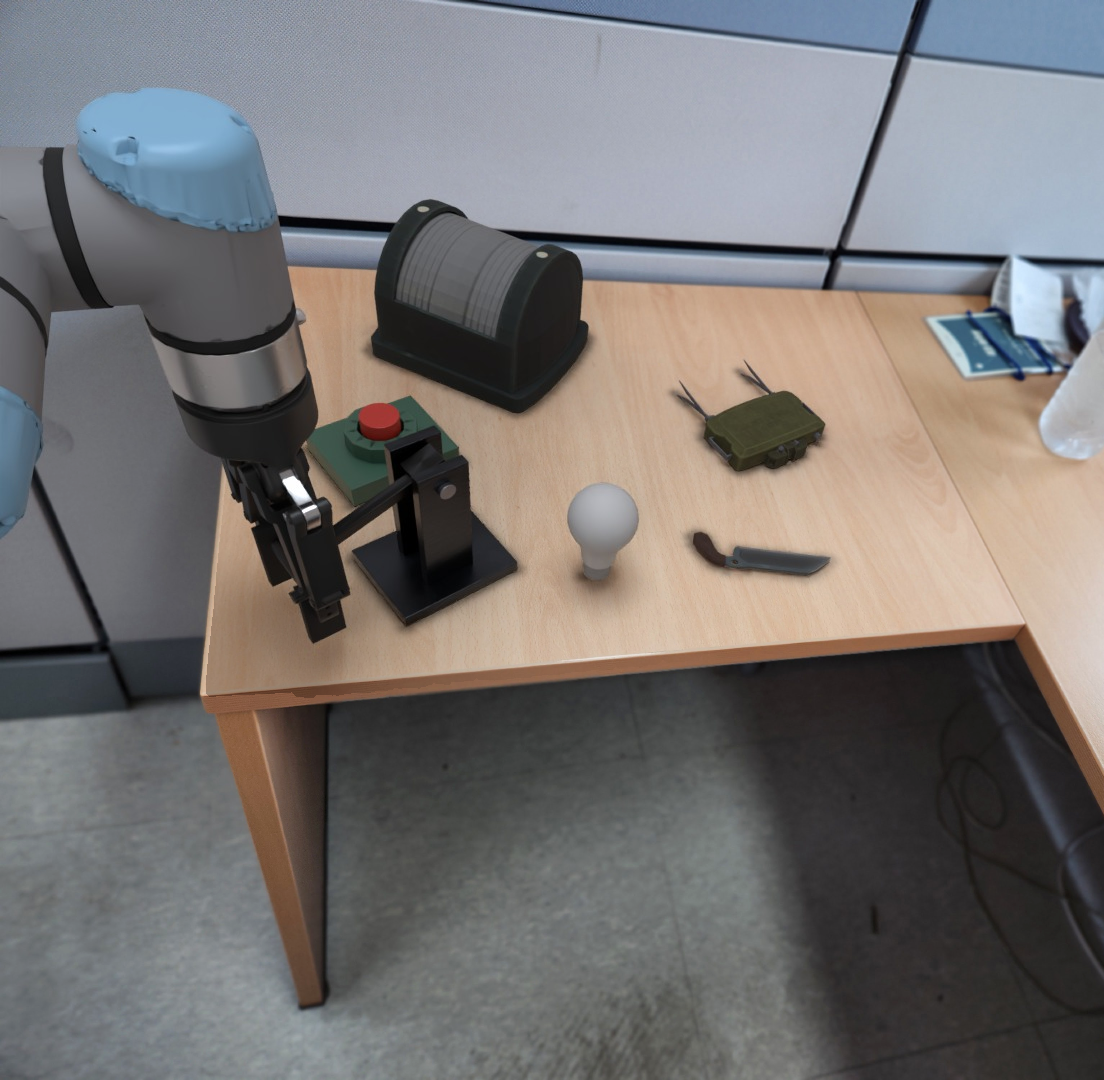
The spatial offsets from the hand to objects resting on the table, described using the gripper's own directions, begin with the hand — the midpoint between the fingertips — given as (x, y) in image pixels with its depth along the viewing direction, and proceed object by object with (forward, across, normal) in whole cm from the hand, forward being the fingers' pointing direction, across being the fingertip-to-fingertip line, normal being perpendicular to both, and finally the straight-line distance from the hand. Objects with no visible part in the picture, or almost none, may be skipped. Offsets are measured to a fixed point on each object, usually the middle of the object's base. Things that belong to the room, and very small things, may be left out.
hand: (307, 603), depth 68 cm
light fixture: (+3, +25, -32) cm, 41 cm away
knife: (+3, -16, -37) cm, 41 cm away
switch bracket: (+3, 0, -11) cm, 12 cm away
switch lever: (-6, 0, -6) cm, 9 cm away
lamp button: (-1, +14, -14) cm, 20 cm away
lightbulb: (+3, -9, -22) cm, 24 cm away
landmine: (+3, -1, -50) cm, 50 cm away
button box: (+3, +14, -14) cm, 21 cm away
